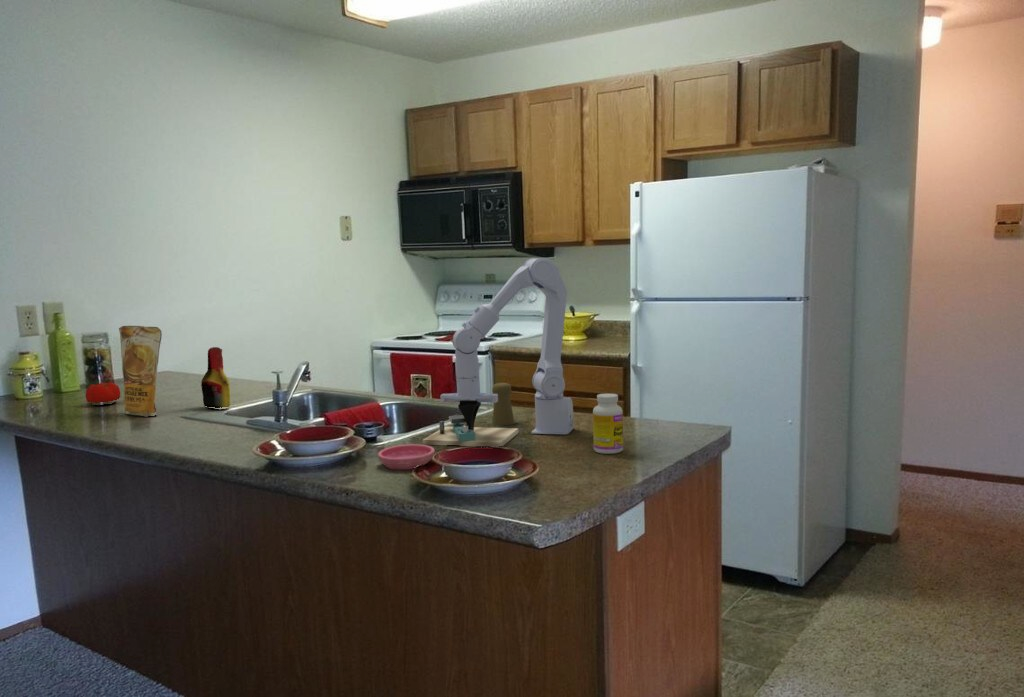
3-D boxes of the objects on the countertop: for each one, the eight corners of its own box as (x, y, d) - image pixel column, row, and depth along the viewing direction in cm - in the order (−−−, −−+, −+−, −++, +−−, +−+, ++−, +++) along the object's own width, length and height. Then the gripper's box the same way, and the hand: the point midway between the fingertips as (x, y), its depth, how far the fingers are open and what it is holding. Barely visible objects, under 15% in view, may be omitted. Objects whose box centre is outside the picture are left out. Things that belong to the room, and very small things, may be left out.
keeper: (468, 435, 193) (467, 418, 192) (440, 438, 191) (439, 420, 191) (464, 431, 198) (463, 414, 198) (437, 433, 197) (436, 416, 196)
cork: (511, 425, 203) (510, 385, 202) (489, 425, 204) (488, 385, 203) (516, 420, 209) (514, 381, 208) (494, 420, 210) (493, 381, 209)
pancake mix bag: (136, 410, 249) (128, 324, 245) (171, 414, 238) (163, 325, 235) (116, 414, 243) (108, 326, 240) (151, 418, 233) (142, 327, 229)
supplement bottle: (615, 456, 168) (614, 398, 166) (588, 453, 171) (587, 396, 170) (628, 449, 173) (626, 393, 172) (601, 446, 177) (600, 391, 175)
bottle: (237, 408, 244) (232, 346, 242) (219, 412, 239) (213, 349, 237) (217, 405, 252) (212, 345, 249) (199, 409, 247) (193, 347, 244)
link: (475, 439, 183) (474, 432, 183) (459, 441, 182) (459, 434, 182) (465, 429, 195) (465, 422, 195) (451, 430, 194) (450, 423, 194)
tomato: (98, 408, 255) (95, 386, 254) (80, 406, 261) (78, 384, 260) (128, 403, 264) (126, 381, 263) (111, 401, 270) (109, 380, 269)
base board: (518, 433, 194) (518, 428, 194) (501, 447, 180) (500, 442, 180) (445, 430, 200) (445, 426, 200) (422, 444, 185) (422, 439, 185)
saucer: (404, 475, 160) (403, 460, 159) (366, 467, 168) (366, 452, 167) (446, 462, 169) (446, 448, 169) (409, 454, 177) (408, 441, 177)
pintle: (469, 438, 185) (469, 425, 184) (467, 439, 183) (467, 426, 183) (464, 438, 185) (463, 425, 185) (462, 439, 184) (461, 426, 183)
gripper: (500, 374, 190) (503, 427, 192) (446, 374, 194) (449, 426, 196) (491, 378, 183) (494, 434, 185) (435, 378, 188) (439, 432, 189)
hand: (470, 430), depth 190 cm, fingers closed, pressing on link
